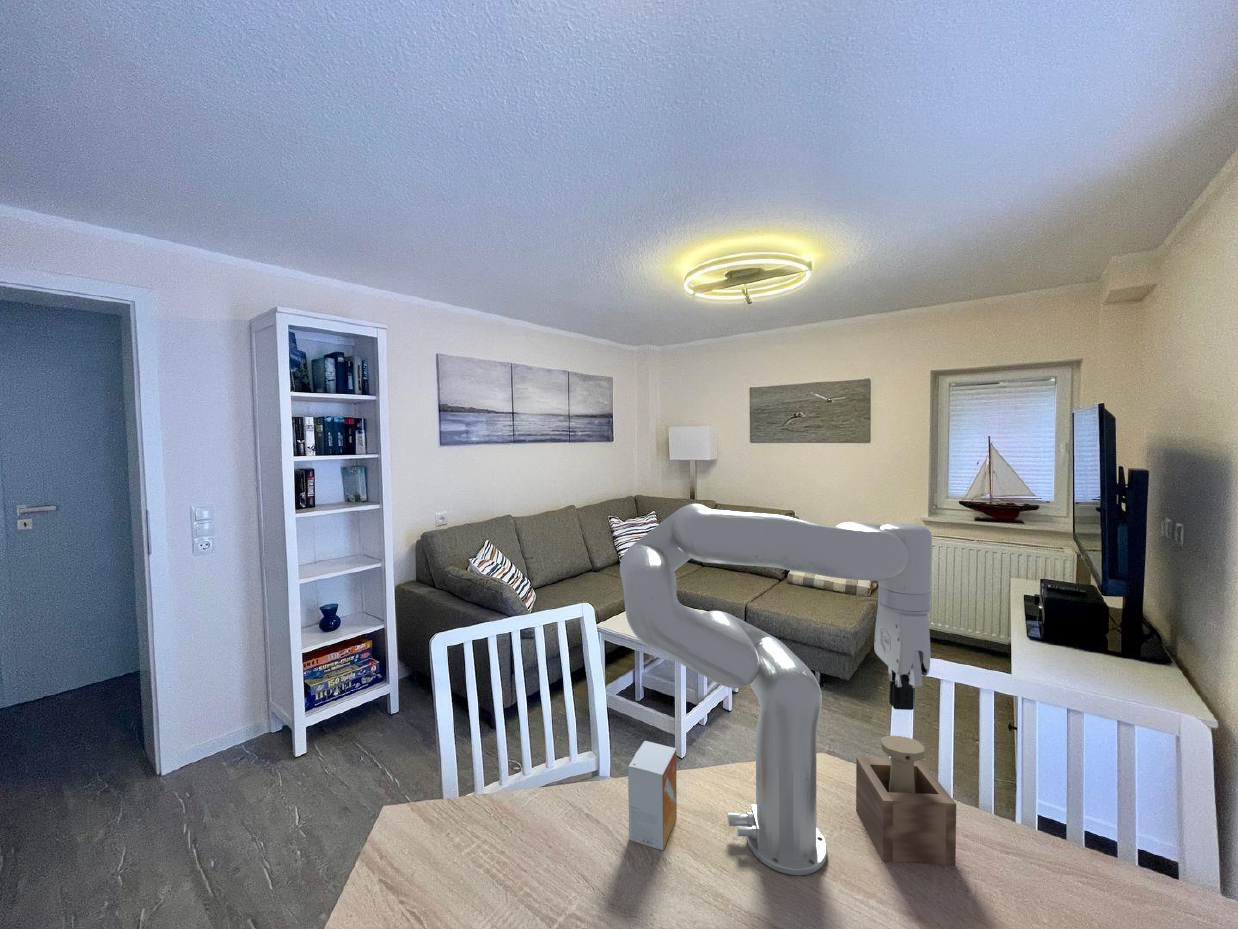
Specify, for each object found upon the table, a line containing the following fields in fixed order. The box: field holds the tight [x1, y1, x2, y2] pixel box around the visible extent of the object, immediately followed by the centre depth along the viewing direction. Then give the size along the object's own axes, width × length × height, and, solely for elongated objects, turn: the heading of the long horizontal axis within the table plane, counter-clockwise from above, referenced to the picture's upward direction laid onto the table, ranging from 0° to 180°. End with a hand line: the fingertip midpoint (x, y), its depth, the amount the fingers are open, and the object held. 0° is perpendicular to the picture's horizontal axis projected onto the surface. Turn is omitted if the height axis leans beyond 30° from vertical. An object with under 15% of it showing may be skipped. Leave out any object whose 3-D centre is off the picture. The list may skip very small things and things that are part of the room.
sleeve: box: [855, 756, 957, 866], centre depth 85 cm, size 11×11×10 cm
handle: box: [880, 735, 926, 793], centre depth 85 cm, size 5×6×15 cm
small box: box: [627, 740, 678, 851], centre depth 87 cm, size 8×6×13 cm
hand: (901, 707), depth 84 cm, fingers closed
